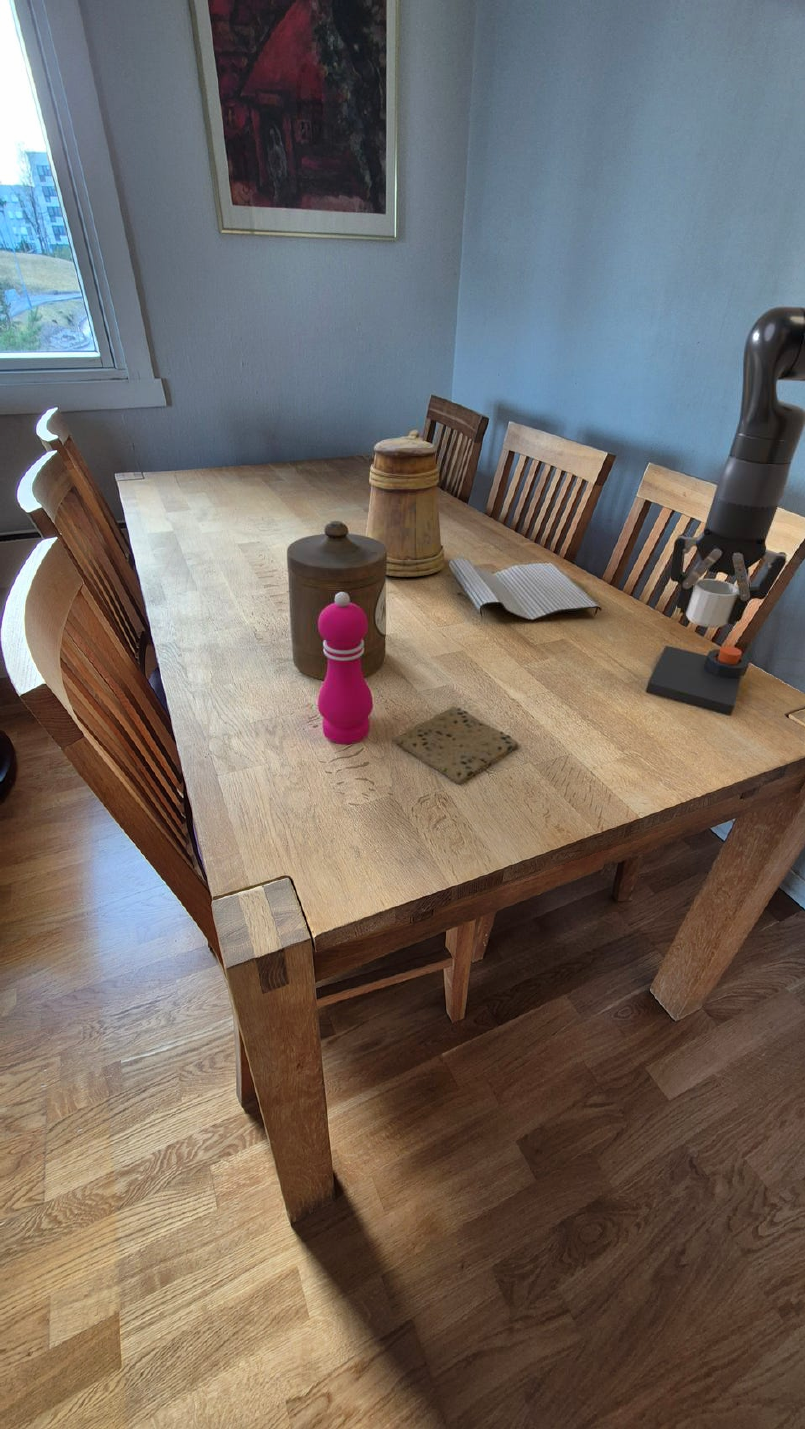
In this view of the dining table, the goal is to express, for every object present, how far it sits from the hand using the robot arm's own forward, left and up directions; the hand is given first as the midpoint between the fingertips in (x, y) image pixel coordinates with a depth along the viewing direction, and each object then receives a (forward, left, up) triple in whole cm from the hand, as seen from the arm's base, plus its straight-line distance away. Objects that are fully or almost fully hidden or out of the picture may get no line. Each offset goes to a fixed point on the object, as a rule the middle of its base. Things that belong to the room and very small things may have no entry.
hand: (707, 616), depth 89 cm
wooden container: (+50, +20, -13) cm, 55 cm away
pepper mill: (+38, +36, -13) cm, 54 cm away
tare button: (-5, -7, -9) cm, 13 cm away
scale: (-1, -3, -12) cm, 13 cm away
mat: (+34, -19, -13) cm, 41 cm away
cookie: (+24, +31, -12) cm, 41 cm away
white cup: (0, 0, -1) cm, 1 cm away
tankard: (+63, -24, -13) cm, 69 cm away
